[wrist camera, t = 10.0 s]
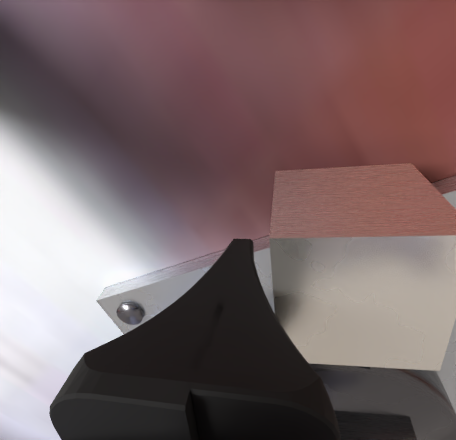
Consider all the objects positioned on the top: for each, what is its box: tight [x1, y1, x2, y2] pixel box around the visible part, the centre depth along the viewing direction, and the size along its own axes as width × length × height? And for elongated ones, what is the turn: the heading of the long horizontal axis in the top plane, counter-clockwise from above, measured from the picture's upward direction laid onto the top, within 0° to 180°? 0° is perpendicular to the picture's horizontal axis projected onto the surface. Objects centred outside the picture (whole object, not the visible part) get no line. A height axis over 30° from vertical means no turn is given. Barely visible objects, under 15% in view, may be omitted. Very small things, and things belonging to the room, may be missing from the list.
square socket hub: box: [269, 163, 456, 440], centre depth 13 cm, size 11×19×5 cm, turn 7°
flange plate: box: [96, 176, 456, 413], centre depth 17 cm, size 20×19×1 cm
